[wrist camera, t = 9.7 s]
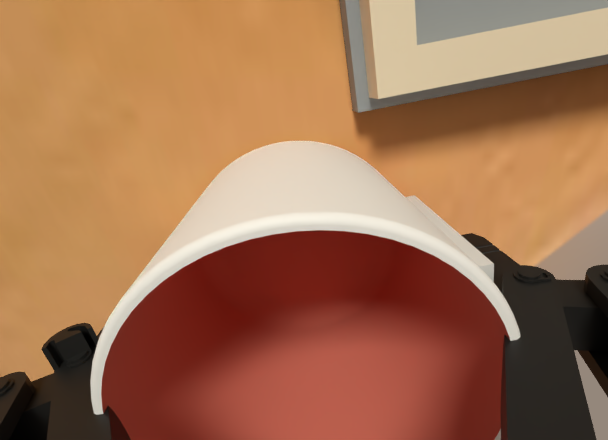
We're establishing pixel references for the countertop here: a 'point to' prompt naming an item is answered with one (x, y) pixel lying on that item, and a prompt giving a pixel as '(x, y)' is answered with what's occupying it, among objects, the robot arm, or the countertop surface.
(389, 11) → the tray
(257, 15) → the countertop surface
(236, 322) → the cup
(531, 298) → the robot arm
